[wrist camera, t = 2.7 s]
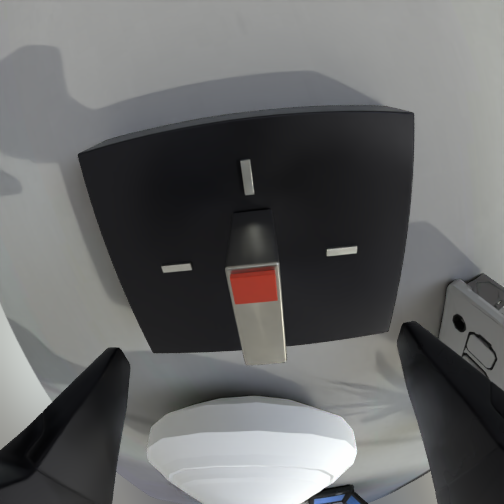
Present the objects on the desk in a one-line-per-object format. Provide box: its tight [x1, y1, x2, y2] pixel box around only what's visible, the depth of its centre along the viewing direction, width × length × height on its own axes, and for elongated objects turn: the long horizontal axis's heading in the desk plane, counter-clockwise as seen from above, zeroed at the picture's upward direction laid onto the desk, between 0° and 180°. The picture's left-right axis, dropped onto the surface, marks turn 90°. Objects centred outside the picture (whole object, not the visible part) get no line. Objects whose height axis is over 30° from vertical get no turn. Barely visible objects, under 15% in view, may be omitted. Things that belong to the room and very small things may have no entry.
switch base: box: [78, 105, 414, 353], centre depth 15 cm, size 14×12×3 cm
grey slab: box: [225, 209, 287, 366], centre depth 11 cm, size 5×2×4 cm, turn 7°
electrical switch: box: [439, 273, 504, 391], centre depth 16 cm, size 9×5×9 cm, turn 17°
